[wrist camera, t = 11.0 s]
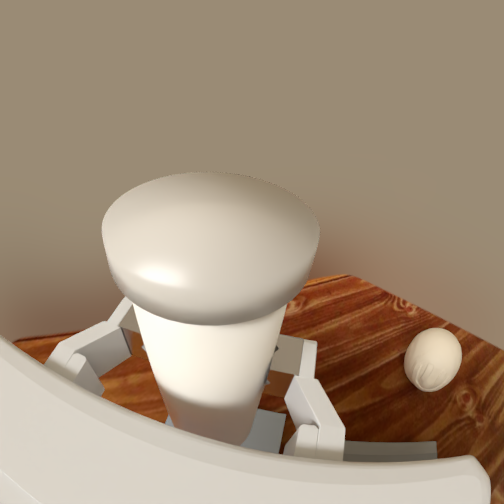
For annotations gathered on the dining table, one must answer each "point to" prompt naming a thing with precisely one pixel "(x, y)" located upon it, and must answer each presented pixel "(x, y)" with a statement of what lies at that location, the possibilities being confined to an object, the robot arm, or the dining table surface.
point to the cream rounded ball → (432, 359)
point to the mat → (262, 431)
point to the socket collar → (389, 451)
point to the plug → (210, 287)
